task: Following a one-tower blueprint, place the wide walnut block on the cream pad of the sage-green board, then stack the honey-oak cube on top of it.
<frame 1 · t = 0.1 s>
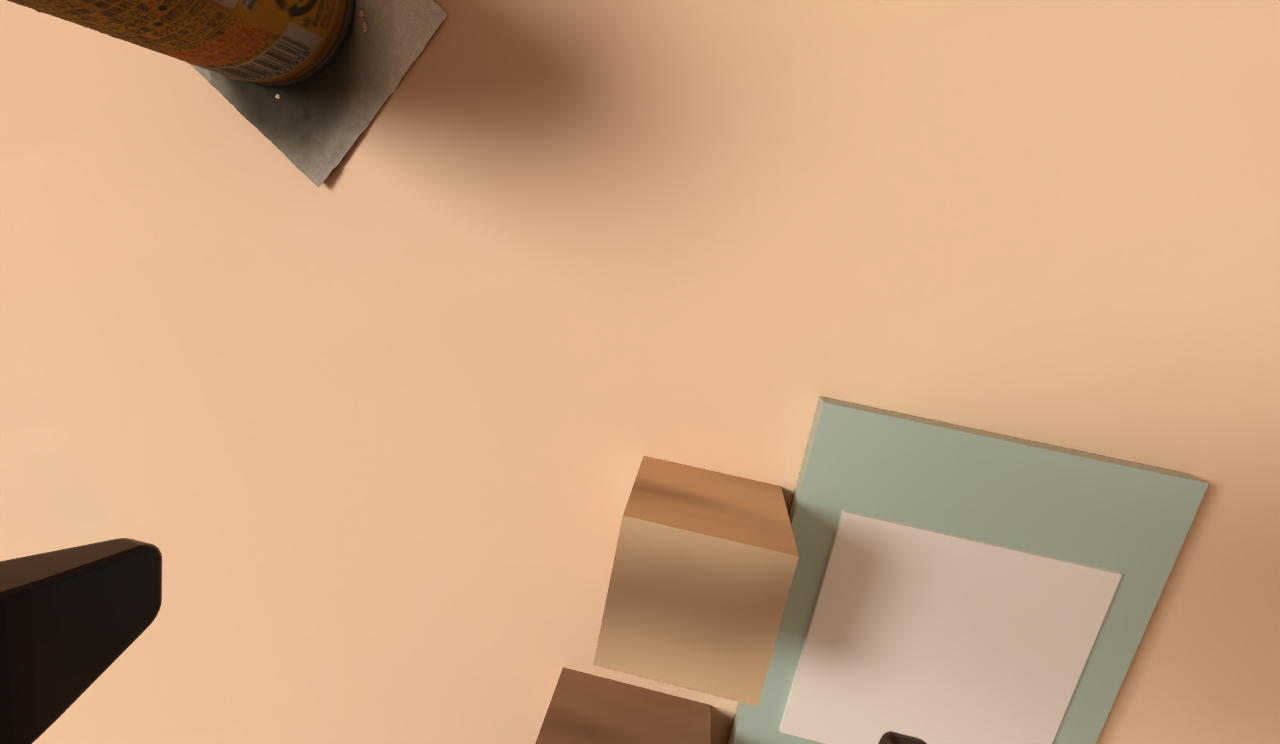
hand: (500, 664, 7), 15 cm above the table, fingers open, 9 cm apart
base board: (930, 640, 22), on the table
condiment: (294, 17, 21), on the table
oak cube: (697, 532, 22), on the table
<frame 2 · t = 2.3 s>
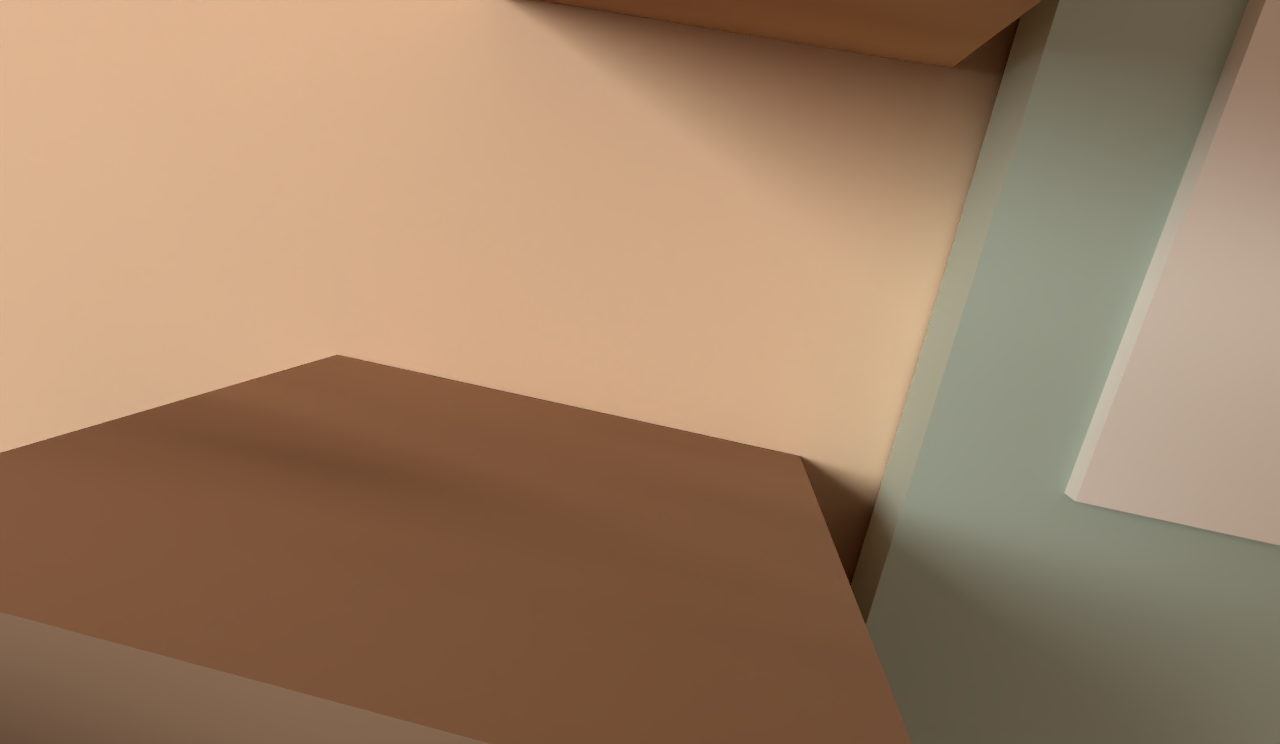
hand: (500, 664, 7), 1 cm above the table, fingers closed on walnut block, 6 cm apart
walnut block: (526, 612, 8), on the table, touching gripper
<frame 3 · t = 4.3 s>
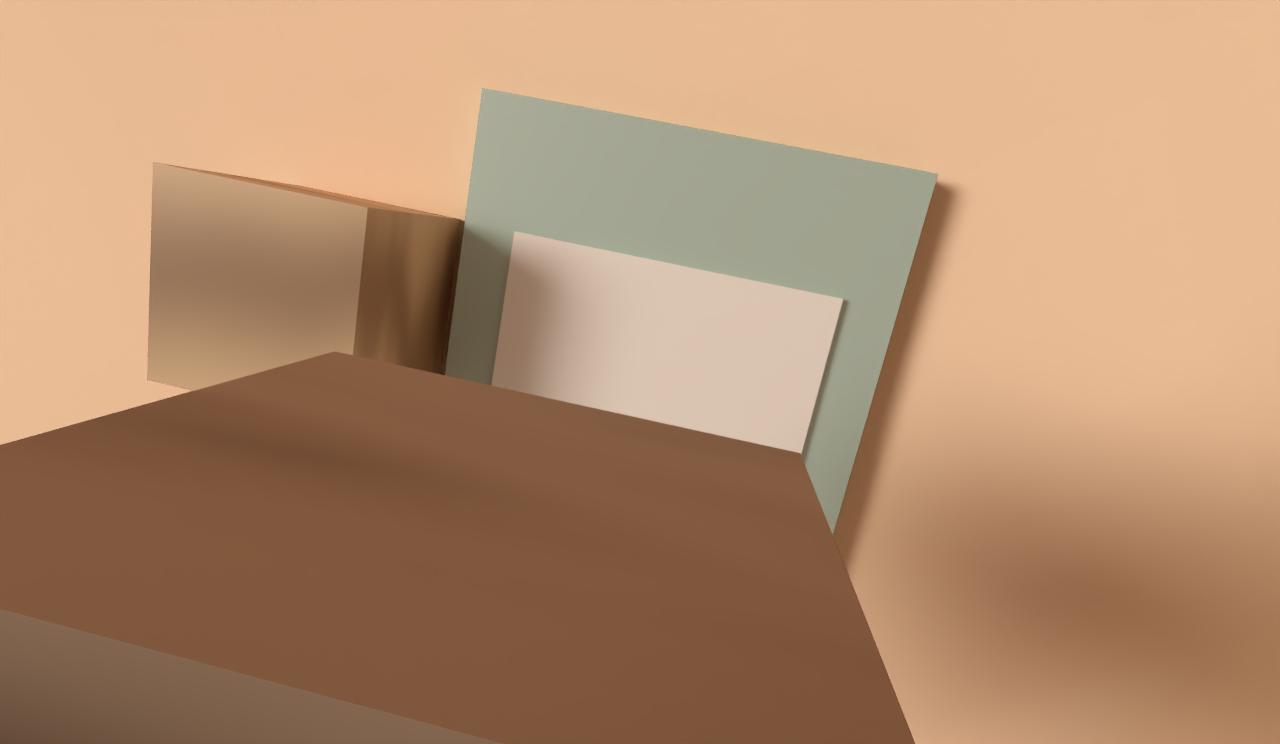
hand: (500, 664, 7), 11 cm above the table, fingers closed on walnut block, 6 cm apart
base board: (646, 413, 18), on the table
oak cube: (372, 285, 19), on the table
walnut block: (525, 609, 8), point 10 cm above the table, touching gripper
when the fingers open (2 cm above the table, at t = 6.5 s): walnut block stays where it is, resting on base board.
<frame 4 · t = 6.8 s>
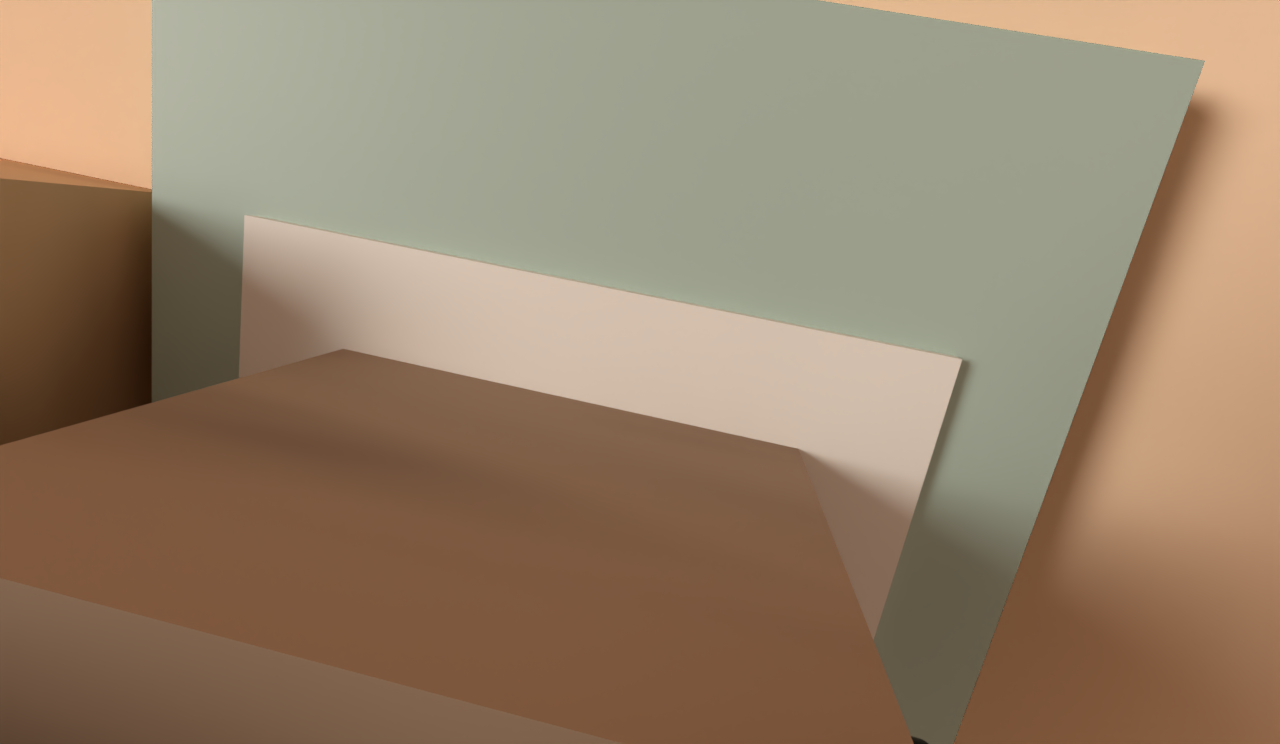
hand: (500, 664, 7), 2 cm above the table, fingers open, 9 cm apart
base board: (551, 567, 9), on the table
oak cube: (34, 323, 10), on the table
walnut block: (529, 602, 8), point 1 cm above the table, touching base board
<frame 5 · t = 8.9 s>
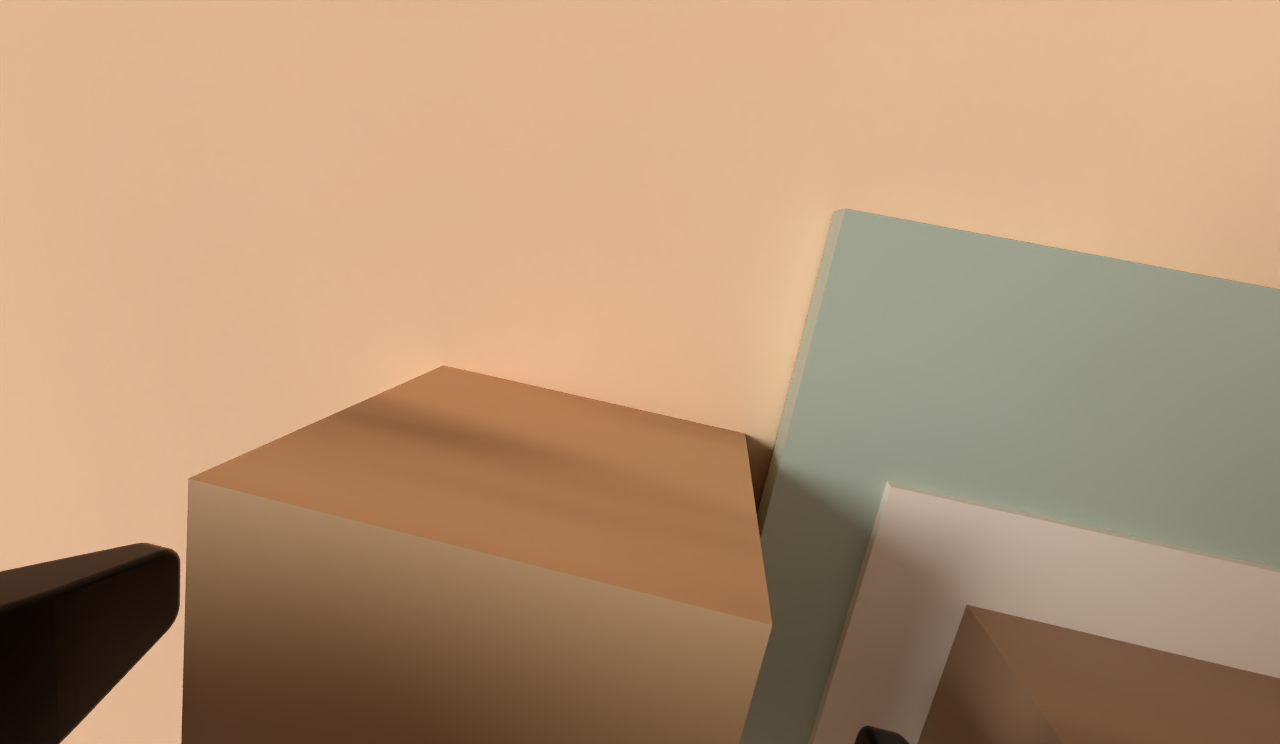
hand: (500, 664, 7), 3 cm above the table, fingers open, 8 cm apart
oak cube: (566, 536, 10), on the table
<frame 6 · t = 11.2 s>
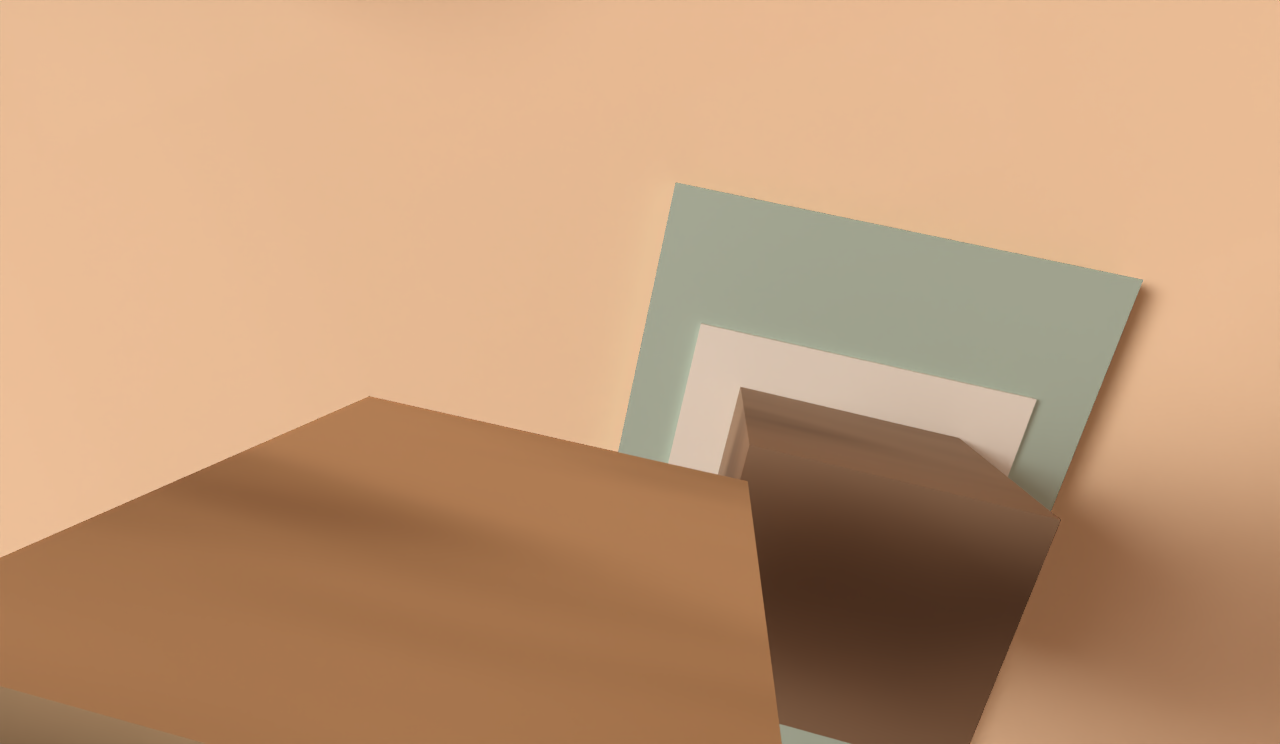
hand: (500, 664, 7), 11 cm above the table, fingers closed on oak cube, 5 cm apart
base board: (814, 497, 18), on the table
oak cube: (525, 608, 8), point 10 cm above the table, touching gripper
walnut block: (818, 510, 17), point 1 cm above the table, touching base board
when the fingers open (8 cm above the table, at t = 12.8 s): oak cube stays where it is, resting on walnut block.
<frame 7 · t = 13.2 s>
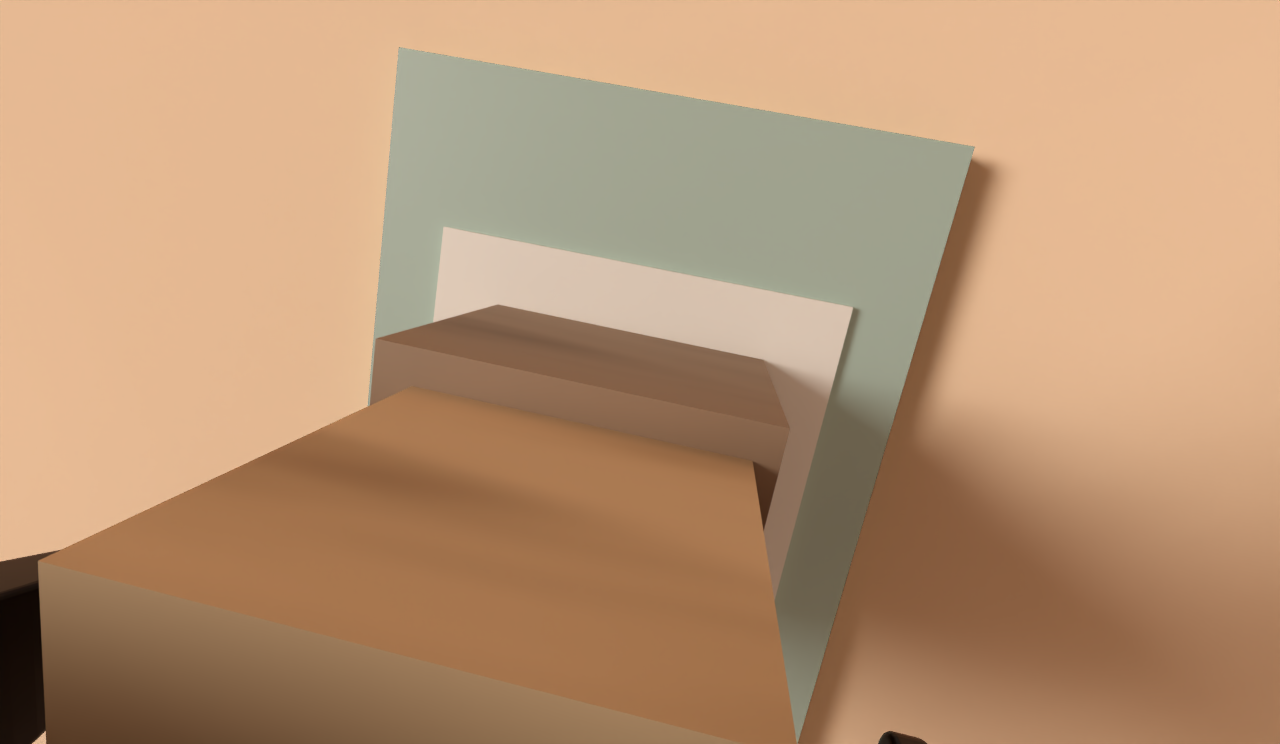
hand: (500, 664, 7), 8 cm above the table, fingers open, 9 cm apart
base board: (613, 445, 15), on the table
oak cube: (551, 577, 9), point 6 cm above the table, touching walnut block
walnut block: (604, 457, 14), point 1 cm above the table, touching base board, oak cube
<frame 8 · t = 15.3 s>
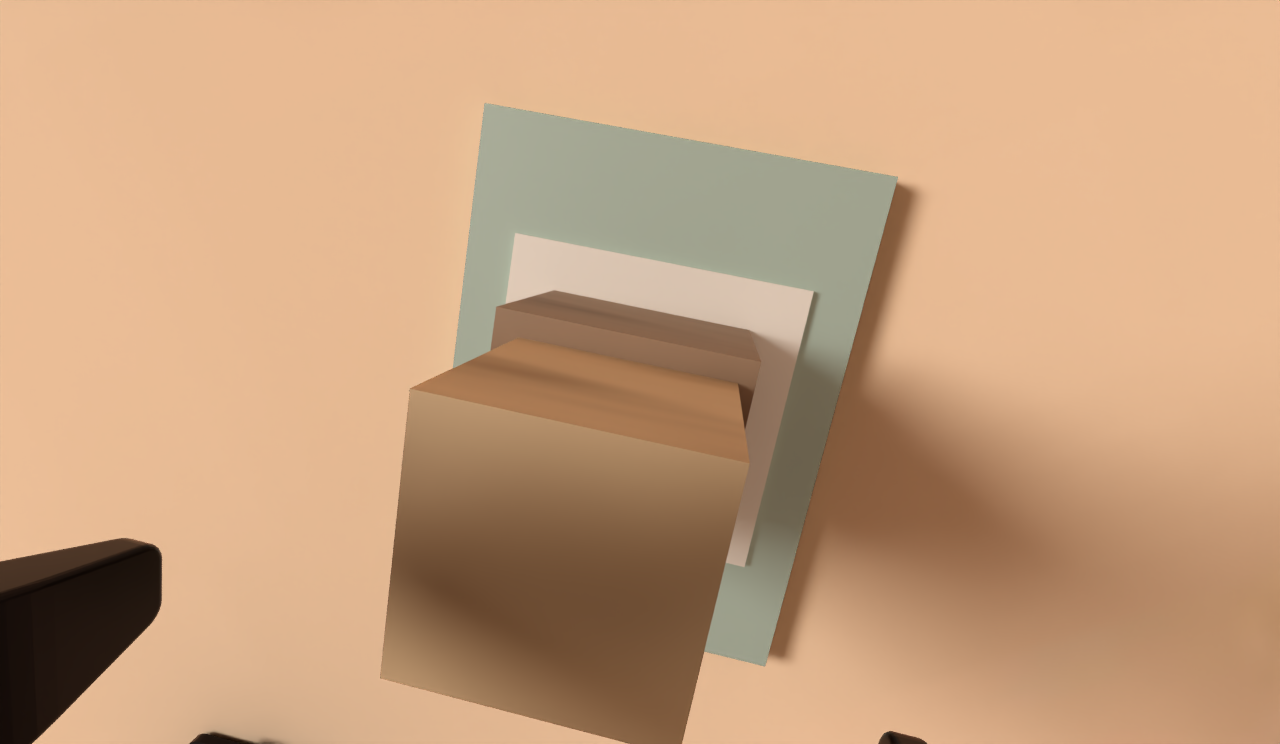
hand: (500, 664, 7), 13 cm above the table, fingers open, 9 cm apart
base board: (637, 397, 20), on the table
oak cube: (607, 463, 14), point 6 cm above the table, touching walnut block
walnut block: (632, 404, 19), point 1 cm above the table, touching base board, oak cube
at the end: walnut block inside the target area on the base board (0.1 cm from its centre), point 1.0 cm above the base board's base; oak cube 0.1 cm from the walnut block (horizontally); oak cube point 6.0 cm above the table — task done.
